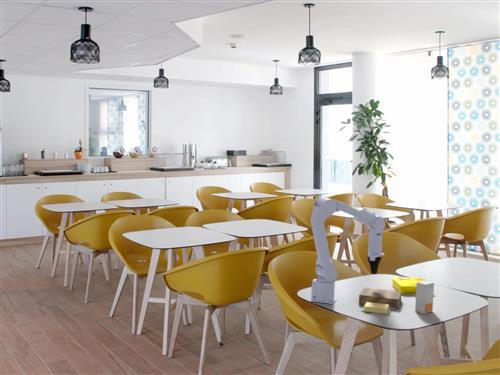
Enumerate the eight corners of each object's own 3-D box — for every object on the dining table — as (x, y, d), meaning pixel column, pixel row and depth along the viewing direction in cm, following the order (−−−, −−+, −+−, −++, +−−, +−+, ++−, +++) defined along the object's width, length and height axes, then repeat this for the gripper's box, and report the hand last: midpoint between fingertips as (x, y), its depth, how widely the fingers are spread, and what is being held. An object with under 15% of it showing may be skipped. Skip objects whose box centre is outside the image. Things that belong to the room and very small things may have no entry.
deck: (358, 304, 231) (359, 294, 231) (363, 296, 242) (363, 287, 242) (398, 308, 225) (398, 299, 225) (401, 300, 237) (401, 291, 236)
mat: (361, 311, 222) (361, 310, 222) (364, 304, 230) (364, 304, 230) (389, 314, 218) (389, 313, 218) (391, 308, 226) (392, 307, 226)
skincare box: (423, 314, 219) (425, 284, 218) (414, 311, 223) (416, 282, 222) (433, 311, 223) (434, 282, 222) (424, 308, 226) (425, 280, 225)
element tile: (400, 295, 247) (401, 284, 246) (391, 286, 261) (391, 276, 261) (433, 295, 247) (434, 285, 247) (422, 286, 262) (422, 276, 261)
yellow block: (366, 301, 227) (366, 306, 227) (364, 306, 221) (364, 310, 221) (389, 304, 223) (388, 309, 224) (387, 308, 218) (387, 313, 218)
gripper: (382, 246, 231) (381, 278, 233) (386, 240, 245) (385, 270, 246) (365, 245, 234) (364, 276, 235) (370, 239, 247) (369, 269, 249)
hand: (374, 273), depth 241 cm, fingers closed
